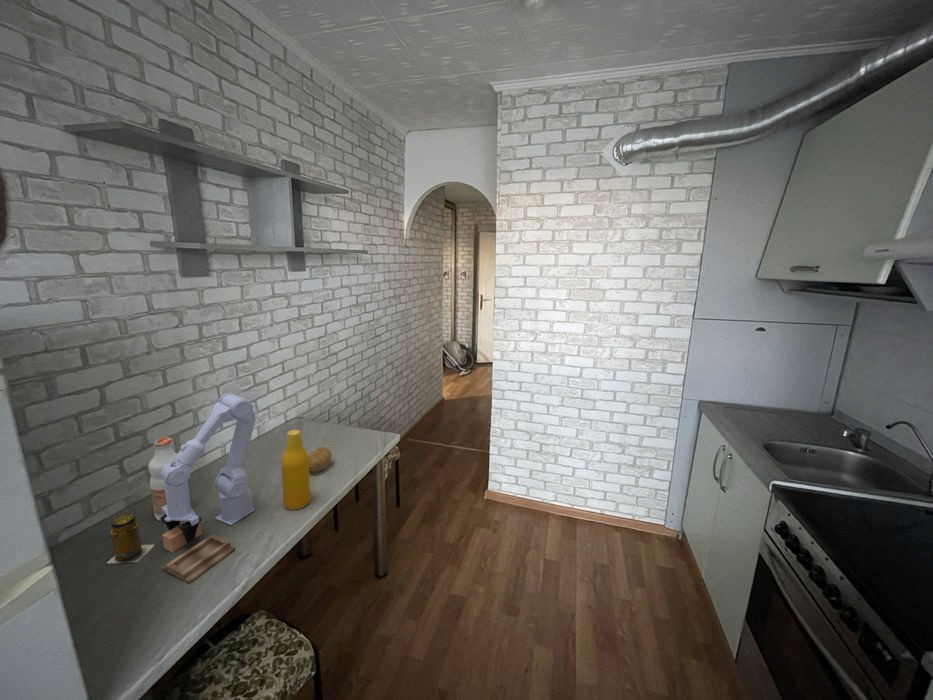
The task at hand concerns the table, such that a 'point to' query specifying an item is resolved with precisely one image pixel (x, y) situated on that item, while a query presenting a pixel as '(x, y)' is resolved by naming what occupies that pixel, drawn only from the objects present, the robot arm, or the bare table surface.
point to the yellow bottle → (295, 472)
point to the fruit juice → (160, 459)
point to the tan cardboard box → (177, 538)
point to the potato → (319, 459)
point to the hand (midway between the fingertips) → (183, 537)
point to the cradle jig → (199, 559)
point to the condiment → (127, 541)
